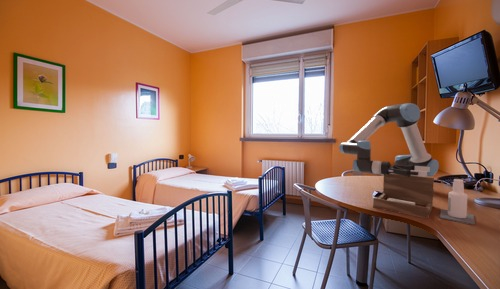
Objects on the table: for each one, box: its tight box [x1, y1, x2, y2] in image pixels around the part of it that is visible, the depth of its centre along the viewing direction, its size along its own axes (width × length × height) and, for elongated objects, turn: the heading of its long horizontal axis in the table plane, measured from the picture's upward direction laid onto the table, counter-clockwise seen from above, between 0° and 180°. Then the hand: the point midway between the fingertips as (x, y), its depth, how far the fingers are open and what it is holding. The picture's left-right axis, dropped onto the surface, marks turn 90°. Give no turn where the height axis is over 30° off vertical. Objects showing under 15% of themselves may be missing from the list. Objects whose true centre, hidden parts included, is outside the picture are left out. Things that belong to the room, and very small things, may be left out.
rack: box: [372, 173, 435, 220], centre depth 122 cm, size 23×24×16 cm
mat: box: [439, 208, 476, 226], centre depth 108 cm, size 14×12×1 cm
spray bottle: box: [447, 178, 469, 218], centre depth 107 cm, size 7×7×18 cm
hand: (428, 171), depth 114 cm, fingers open, 13 cm apart
